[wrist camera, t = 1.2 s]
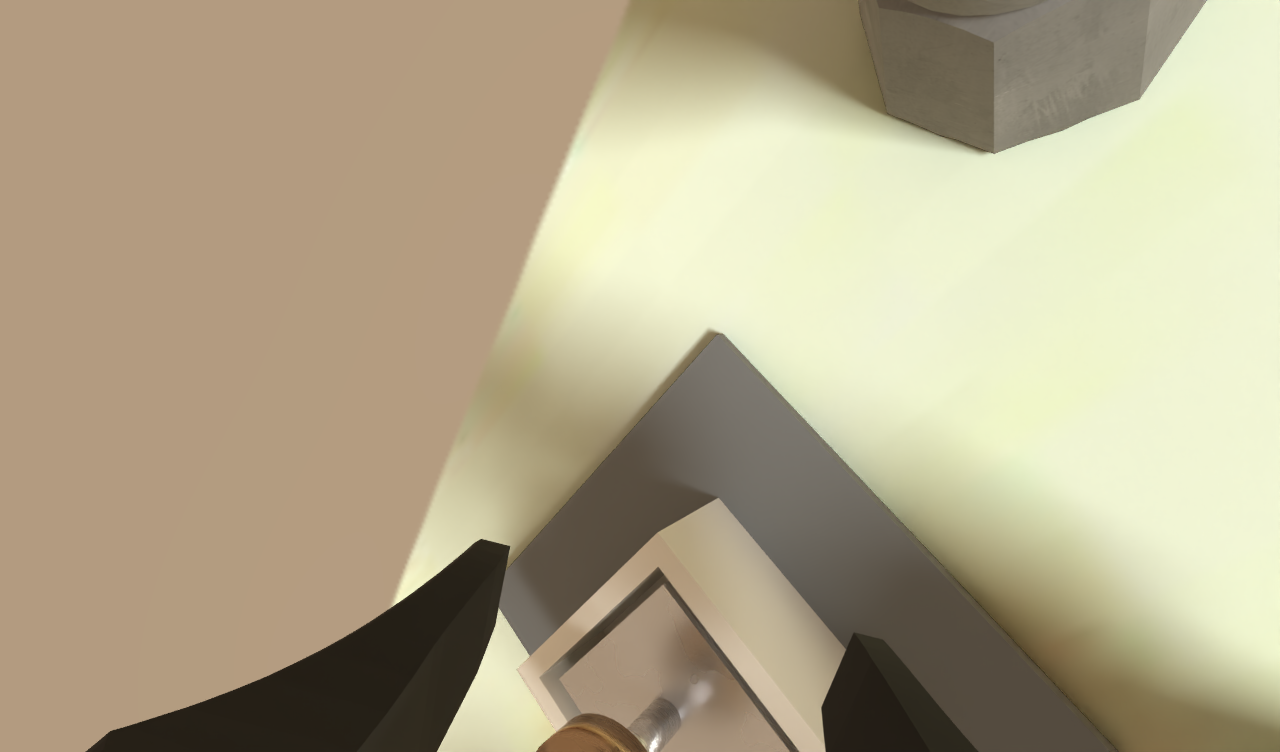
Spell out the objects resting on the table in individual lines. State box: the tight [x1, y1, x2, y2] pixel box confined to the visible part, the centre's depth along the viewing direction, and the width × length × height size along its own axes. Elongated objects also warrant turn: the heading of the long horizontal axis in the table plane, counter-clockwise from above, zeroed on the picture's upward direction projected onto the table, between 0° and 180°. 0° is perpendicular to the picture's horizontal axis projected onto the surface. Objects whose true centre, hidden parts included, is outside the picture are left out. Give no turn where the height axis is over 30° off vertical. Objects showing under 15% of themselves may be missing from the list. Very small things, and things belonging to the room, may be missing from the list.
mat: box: [499, 334, 1118, 752], centre depth 25 cm, size 18×18×1 cm
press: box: [517, 498, 846, 752], centre depth 22 cm, size 9×9×5 cm
